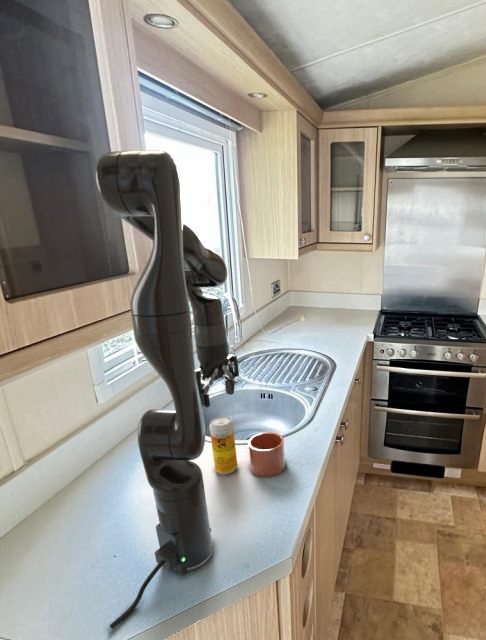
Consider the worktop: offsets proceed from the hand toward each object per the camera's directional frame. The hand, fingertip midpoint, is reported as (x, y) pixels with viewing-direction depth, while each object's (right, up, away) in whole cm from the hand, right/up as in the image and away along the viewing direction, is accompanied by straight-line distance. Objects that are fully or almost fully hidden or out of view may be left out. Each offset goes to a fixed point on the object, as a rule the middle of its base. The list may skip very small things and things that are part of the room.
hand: (218, 400), depth 105 cm
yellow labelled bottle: (0, -20, +8) cm, 21 cm away
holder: (+12, -19, +9) cm, 24 cm away
